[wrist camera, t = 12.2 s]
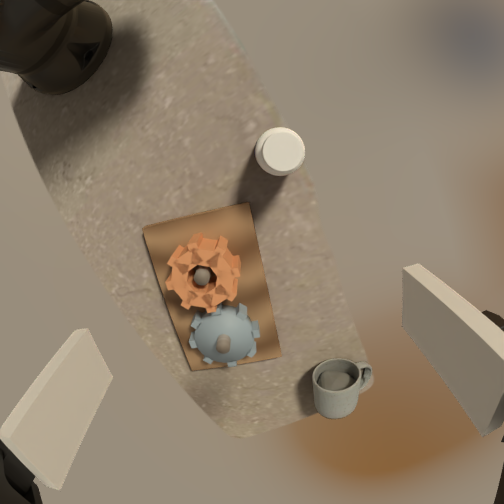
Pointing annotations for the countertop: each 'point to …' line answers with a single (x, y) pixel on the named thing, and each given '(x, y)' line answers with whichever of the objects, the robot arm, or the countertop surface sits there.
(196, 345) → the slate gear
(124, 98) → the countertop surface
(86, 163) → the countertop surface
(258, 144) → the pill bottle
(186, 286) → the terracotta gear
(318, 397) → the ceramic mug
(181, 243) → the walnut board
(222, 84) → the countertop surface
